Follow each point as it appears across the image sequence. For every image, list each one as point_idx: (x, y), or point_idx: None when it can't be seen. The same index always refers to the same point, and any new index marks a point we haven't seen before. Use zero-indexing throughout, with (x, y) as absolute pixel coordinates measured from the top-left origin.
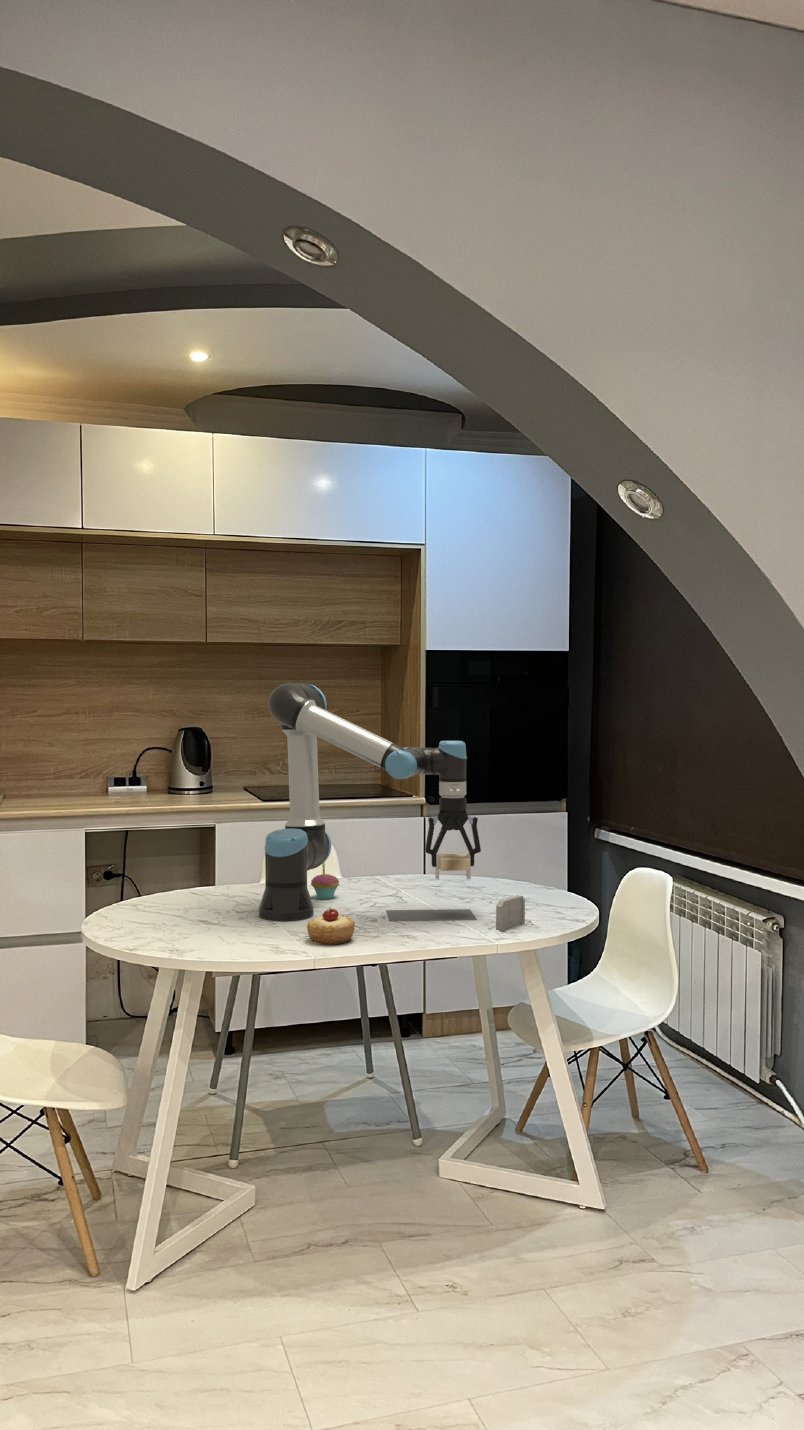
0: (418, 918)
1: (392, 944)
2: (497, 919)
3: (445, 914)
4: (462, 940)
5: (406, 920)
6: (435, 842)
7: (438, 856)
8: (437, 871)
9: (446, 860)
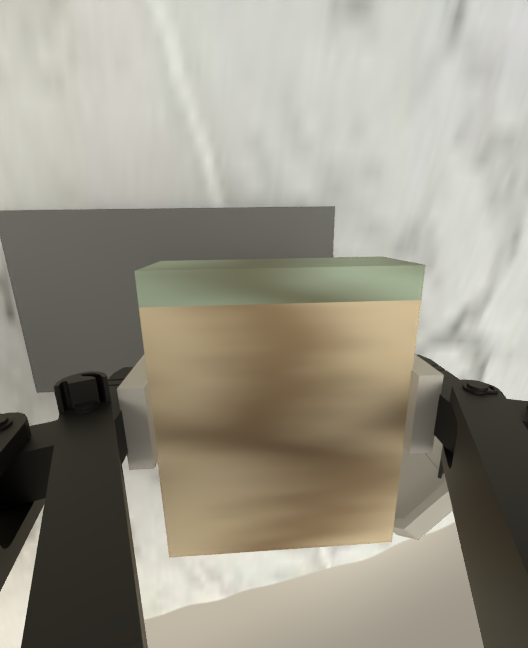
0: (135, 356)
1: None
2: None
3: None
4: (252, 556)
5: None
6: (51, 493)
7: (149, 465)
8: None
9: (213, 548)
